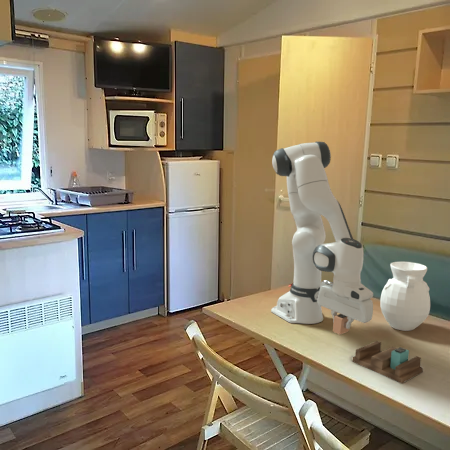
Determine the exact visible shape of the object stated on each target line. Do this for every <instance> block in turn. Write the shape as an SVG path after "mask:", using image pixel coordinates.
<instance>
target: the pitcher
mask: <svg viewBox="0 0 450 450" xmlns="http://www.w3.org/2000/svg"><path fill="white" fill-rule="evenodd" d="M389 265H390V269H391V273H392V278H389V279H388V280H387V281H386V284H385V285H384V287H383V289H382V291H381V295H380V300H379V301H380V305H379V306H380V310H381V313H382V315H383V317H384V319H385V321H386V322H387V323H388V324H389V326H390V327H391V328H393V329H395V330H398V331H399V330H400V331H405V332H407V331H408V332H409V331H413V330H415V329H416V328H418V327H419V326H420V325H421V324H423V322H425V321H426V319H427V318H428V316H429V314H430V312H431V311H430V310H431V298H430V292H429V291H430V287H429V286H428V283H427V282H426V281H425V280H424V277H425V275H426V273H427V271H428V267H427V266H426V265H424V264H422V263H418V262H413V261H394V262H390V264H389Z"/></svg>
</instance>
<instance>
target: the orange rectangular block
mask: <svg viewBox="0 0 450 450" xmlns="http://www.w3.org/2000/svg"><path fill="white" fill-rule="evenodd" d="M345 322H348V319H347V316H345V315H343V314H340V313H338V314H337V316H334V323H333V326H332V332H333V333H335V334H338V335H339V336H340V335H343V334H345V333H348V332H349V331H350V328H349V329H346V328H344V323H345Z"/></svg>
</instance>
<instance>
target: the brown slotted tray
mask: <svg viewBox="0 0 450 450" xmlns="http://www.w3.org/2000/svg"><path fill="white" fill-rule="evenodd" d="M381 345H382V342H381V341H378V340H376V341H374V342H370V343H369V344H366V345H364V346H361V347H359V348H356V349H355V354H354V355H355V356H352V360H351V361H352V362H353V363H355V364H357V365H359V366H362V367H364V368H367V369H368V370H371V371H373V372H376V373H377V374H380V375H381V376H384V377H386V378H388V379H391V380H393V381H395V382H398V383H400V384H404V383H406V382H407V381H409V380H411V379H413V378H414V377H416V376H419V375H420V374H422V373H423V372H424V368H423V367H422V366H421V361H422V358H421V357H420V356H417V355H415V356H413V357H412V358H410V359H408V361H406V362H404V363H402V364H400V365H398V366H396V368H395V369H392V368H390V365H391V353H392V351H393V350H395V349H397V347H394V346H392V347H389V348H387V349H385V350H381V349H382V348H381V347H382V346H381Z"/></svg>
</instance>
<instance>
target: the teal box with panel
mask: <svg viewBox="0 0 450 450" xmlns="http://www.w3.org/2000/svg"><path fill="white" fill-rule="evenodd" d="M396 348H397V347H396ZM409 354H410V350H408V349H406V348H403V347H401V346H399V347H398V348H397V349H395V350H393V351H392V353H391V365H390V368H392V369H395V368H396V366H398V365H400V364H402V363H404V362H406V361H408V360H409Z"/></svg>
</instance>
